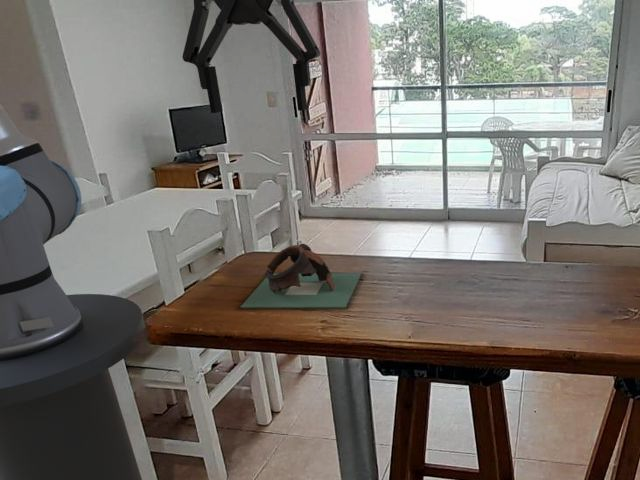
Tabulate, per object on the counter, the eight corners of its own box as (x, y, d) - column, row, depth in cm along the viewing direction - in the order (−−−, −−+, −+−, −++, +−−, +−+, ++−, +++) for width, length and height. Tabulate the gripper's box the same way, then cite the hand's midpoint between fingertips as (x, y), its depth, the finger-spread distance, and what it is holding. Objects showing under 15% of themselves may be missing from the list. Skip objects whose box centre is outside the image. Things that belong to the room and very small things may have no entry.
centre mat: (240, 308, 86) (240, 306, 86) (269, 275, 99) (269, 273, 99) (345, 308, 85) (345, 306, 85) (361, 274, 98) (360, 272, 97)
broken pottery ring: (339, 300, 88) (309, 262, 83) (288, 326, 90) (255, 291, 85) (337, 257, 97) (309, 221, 92) (290, 281, 99) (261, 247, 94)
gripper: (330, -51, 82) (343, 106, 91) (163, -43, 84) (192, 110, 93) (318, -60, 75) (333, 111, 84) (136, -51, 77) (170, 115, 86)
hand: (259, 111), depth 88 cm, fingers open, 13 cm apart
